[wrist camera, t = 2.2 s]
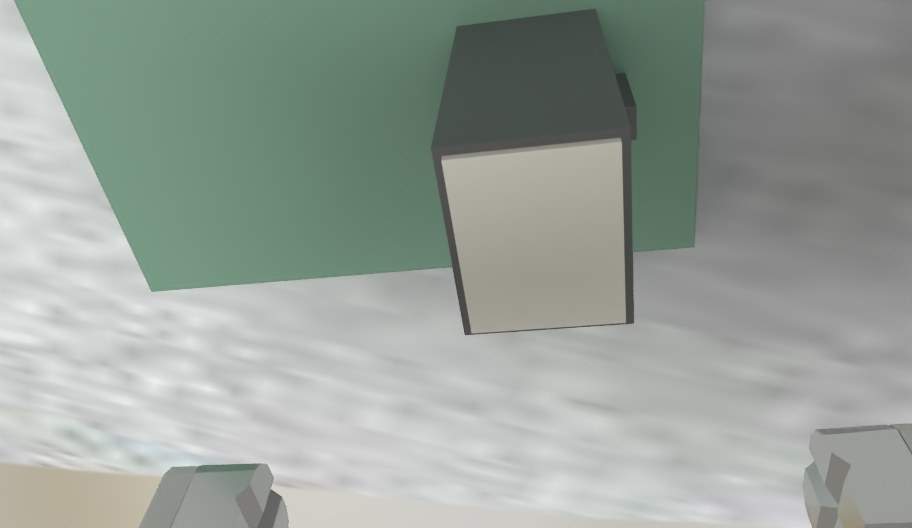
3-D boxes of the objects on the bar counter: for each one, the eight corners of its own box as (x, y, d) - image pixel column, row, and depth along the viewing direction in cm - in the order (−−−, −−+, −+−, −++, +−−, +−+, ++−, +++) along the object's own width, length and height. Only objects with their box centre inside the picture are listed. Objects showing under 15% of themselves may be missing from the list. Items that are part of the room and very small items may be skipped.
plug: (624, 5, 21) (674, 127, 14) (627, 162, 24) (670, 326, 17) (456, 26, 22) (429, 152, 15) (478, 176, 24) (464, 340, 18)
